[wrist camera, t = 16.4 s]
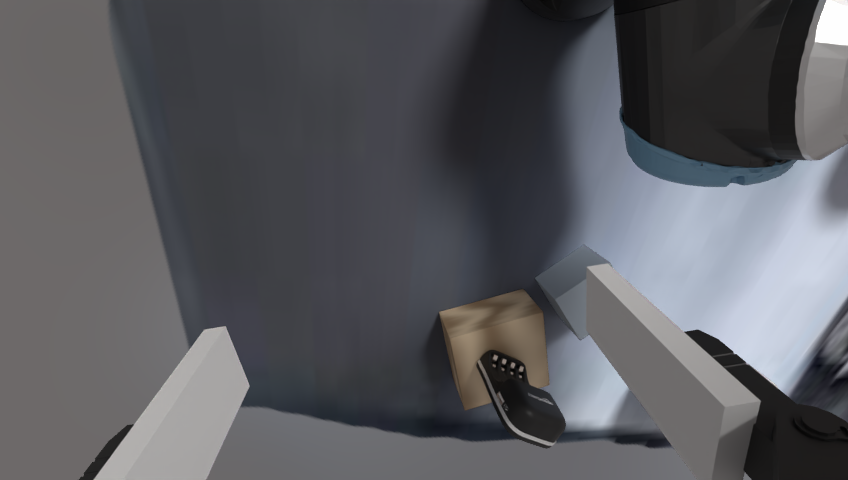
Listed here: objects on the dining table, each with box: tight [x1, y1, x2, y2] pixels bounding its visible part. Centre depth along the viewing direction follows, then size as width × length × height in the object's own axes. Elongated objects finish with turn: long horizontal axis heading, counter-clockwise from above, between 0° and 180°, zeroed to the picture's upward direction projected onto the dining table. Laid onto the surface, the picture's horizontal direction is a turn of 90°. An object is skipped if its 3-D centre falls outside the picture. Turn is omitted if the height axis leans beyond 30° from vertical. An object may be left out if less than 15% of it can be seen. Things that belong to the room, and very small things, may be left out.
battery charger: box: [476, 350, 566, 448], centre depth 47 cm, size 7×4×11 cm, turn 58°
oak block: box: [439, 289, 550, 410], centre depth 55 cm, size 12×12×6 cm
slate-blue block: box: [535, 245, 613, 340], centre depth 54 cm, size 8×8×6 cm
